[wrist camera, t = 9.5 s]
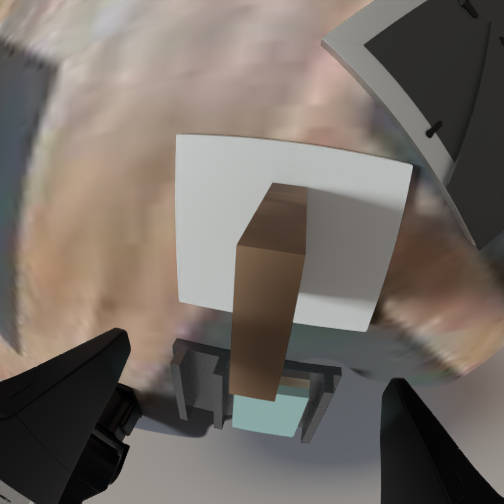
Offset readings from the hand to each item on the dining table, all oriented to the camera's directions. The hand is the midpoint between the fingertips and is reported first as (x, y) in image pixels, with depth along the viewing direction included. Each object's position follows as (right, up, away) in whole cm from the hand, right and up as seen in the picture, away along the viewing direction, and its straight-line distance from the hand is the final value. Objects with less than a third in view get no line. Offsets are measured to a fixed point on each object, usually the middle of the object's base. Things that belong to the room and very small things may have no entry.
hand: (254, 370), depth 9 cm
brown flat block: (+2, +4, +9) cm, 10 cm away
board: (+2, +5, +10) cm, 11 cm away
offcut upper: (+1, -10, +15) cm, 18 cm away
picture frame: (+17, +17, +3) cm, 24 cm away
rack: (0, -9, +17) cm, 19 cm away
